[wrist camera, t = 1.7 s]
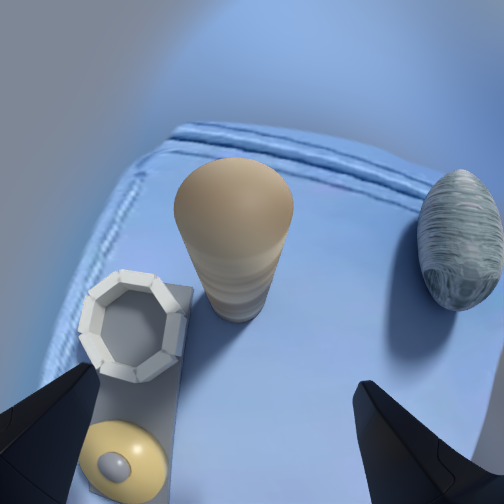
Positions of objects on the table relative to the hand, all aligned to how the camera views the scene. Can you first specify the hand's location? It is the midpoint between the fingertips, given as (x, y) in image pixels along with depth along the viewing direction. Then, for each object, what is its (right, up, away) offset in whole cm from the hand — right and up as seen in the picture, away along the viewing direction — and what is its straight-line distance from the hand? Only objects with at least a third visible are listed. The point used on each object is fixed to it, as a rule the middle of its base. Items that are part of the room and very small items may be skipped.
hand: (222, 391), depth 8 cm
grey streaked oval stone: (+20, +4, +16) cm, 26 cm away
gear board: (-8, -7, +10) cm, 15 cm away
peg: (0, +1, +14) cm, 14 cm away
